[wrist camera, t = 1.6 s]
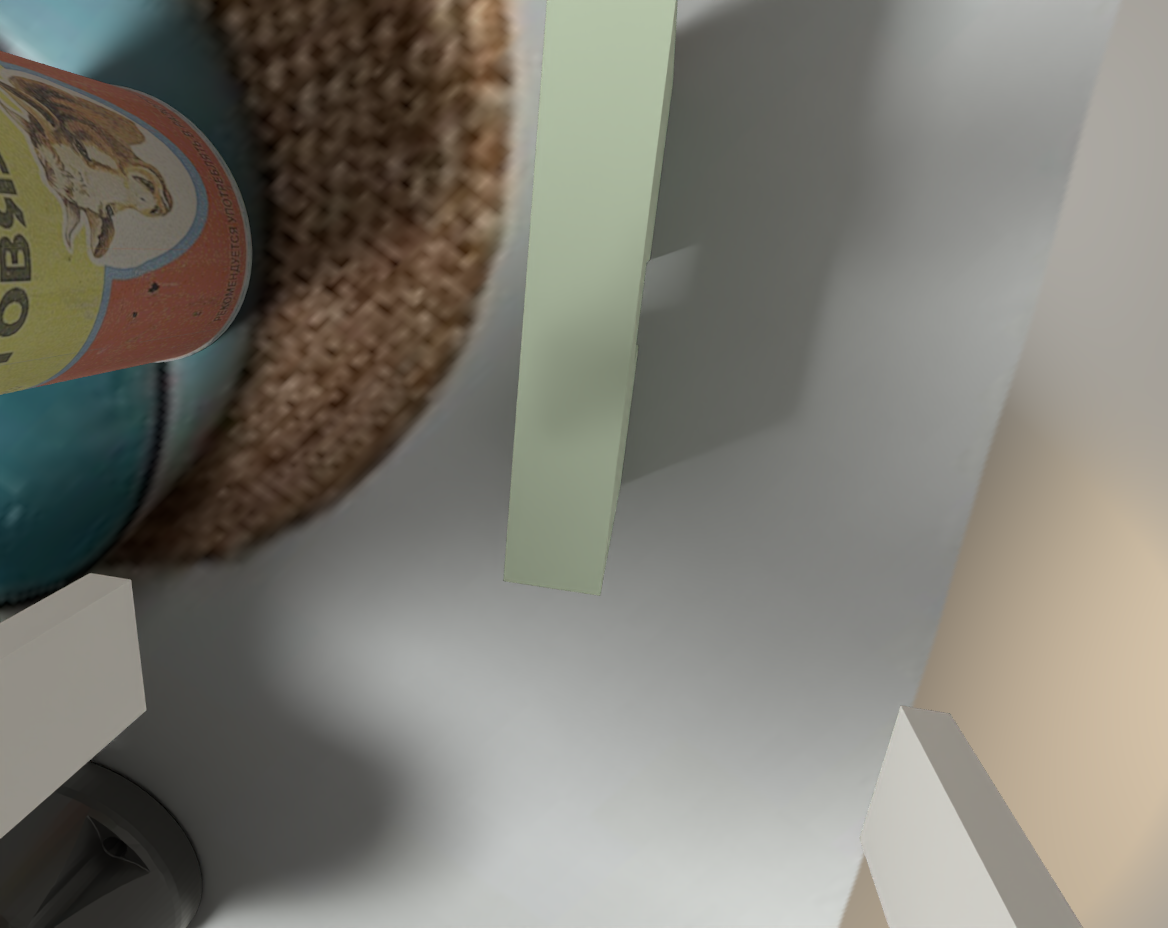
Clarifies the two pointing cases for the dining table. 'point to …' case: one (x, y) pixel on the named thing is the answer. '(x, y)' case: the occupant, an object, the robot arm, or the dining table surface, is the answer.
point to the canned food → (109, 229)
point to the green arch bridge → (586, 280)
